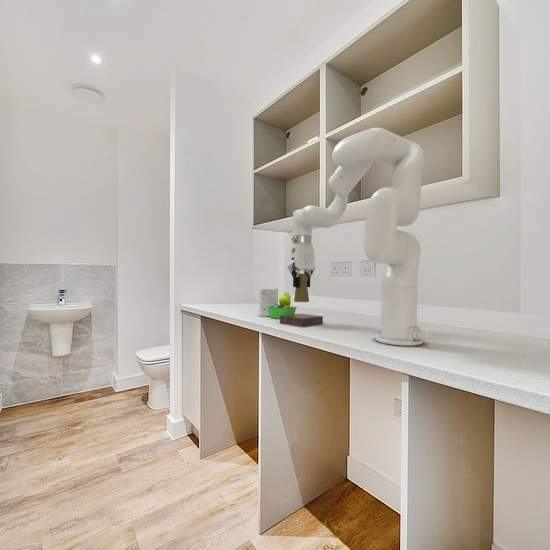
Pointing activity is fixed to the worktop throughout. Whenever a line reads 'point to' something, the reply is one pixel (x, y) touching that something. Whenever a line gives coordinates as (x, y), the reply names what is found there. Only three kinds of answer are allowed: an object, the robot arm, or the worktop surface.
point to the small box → (267, 300)
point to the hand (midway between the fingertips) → (301, 286)
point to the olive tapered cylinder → (302, 290)
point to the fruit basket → (282, 307)
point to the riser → (301, 319)
